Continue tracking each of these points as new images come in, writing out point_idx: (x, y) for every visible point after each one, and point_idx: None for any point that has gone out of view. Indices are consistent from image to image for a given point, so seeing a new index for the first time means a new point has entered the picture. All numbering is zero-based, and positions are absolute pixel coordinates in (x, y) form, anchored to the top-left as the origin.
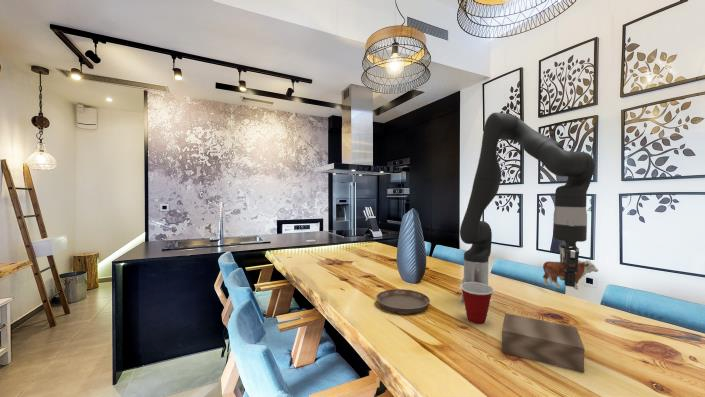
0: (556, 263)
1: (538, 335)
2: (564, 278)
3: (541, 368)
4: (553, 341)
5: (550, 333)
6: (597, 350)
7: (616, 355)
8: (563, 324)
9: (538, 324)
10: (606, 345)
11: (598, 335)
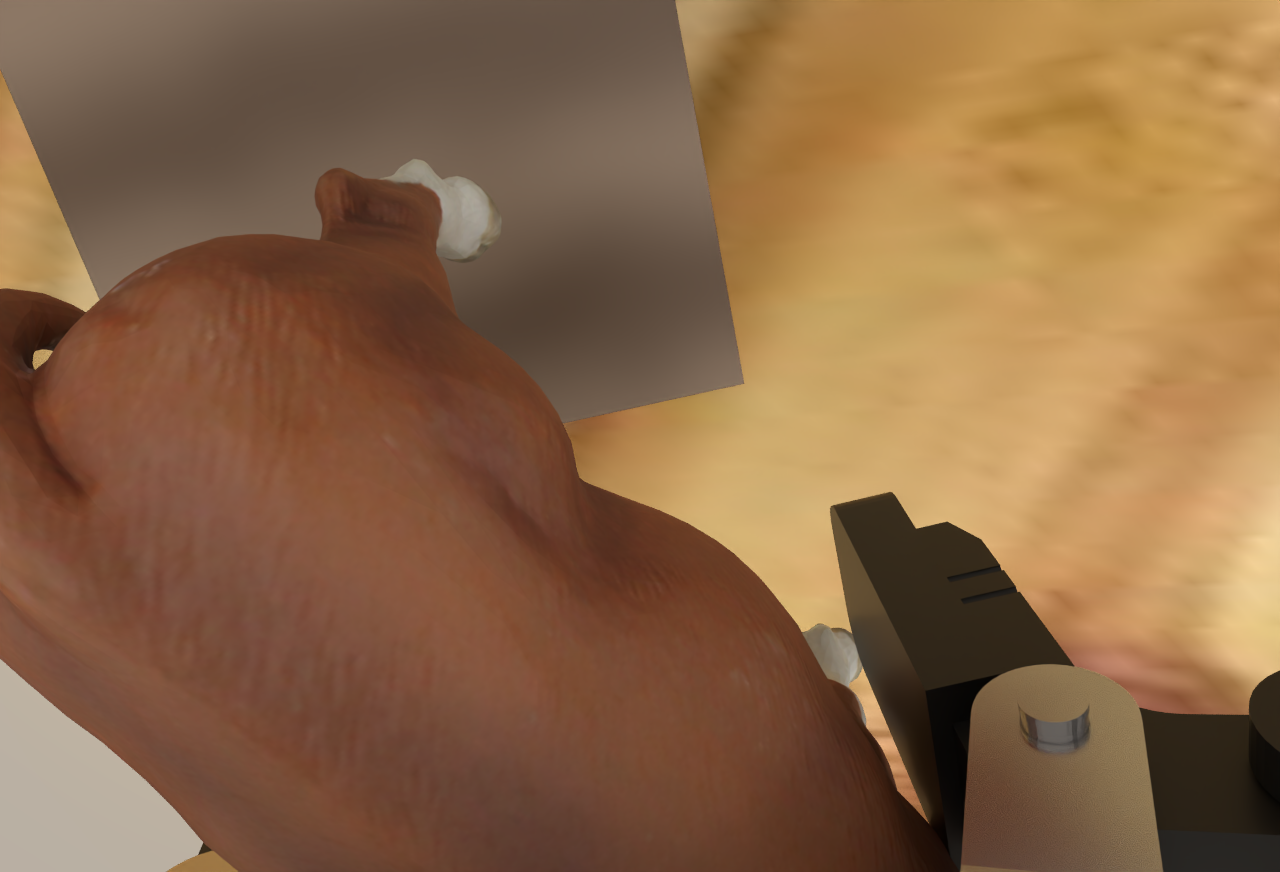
0: (224, 813)
1: (102, 98)
2: (845, 560)
3: (21, 143)
4: (87, 261)
5: (296, 196)
6: (789, 452)
7: (790, 561)
8: (718, 267)
9: (479, 23)
10: (954, 497)
11: (1161, 433)
